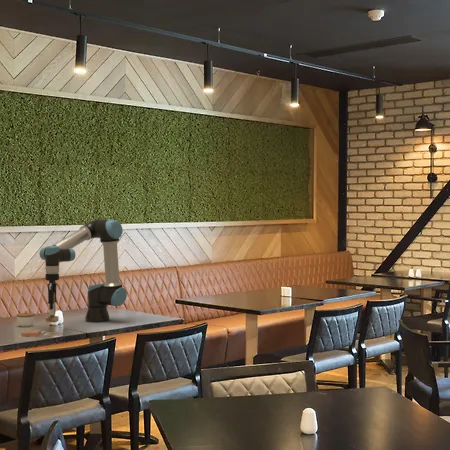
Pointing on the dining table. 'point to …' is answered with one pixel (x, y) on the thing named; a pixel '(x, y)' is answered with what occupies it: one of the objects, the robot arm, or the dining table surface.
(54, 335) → the rest pad
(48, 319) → the pusher
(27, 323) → the lidded jar
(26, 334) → the tile
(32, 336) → the board
